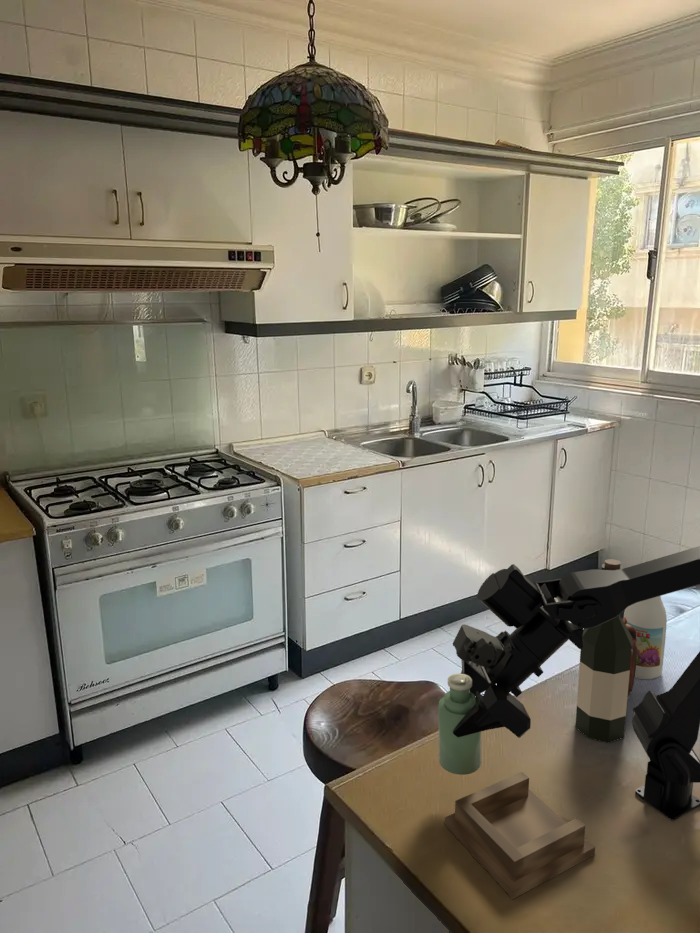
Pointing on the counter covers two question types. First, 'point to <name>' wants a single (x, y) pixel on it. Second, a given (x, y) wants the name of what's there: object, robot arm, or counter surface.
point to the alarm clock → (632, 656)
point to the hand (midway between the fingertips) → (450, 720)
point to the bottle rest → (517, 835)
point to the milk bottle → (648, 635)
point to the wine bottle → (604, 677)
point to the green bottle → (455, 704)
